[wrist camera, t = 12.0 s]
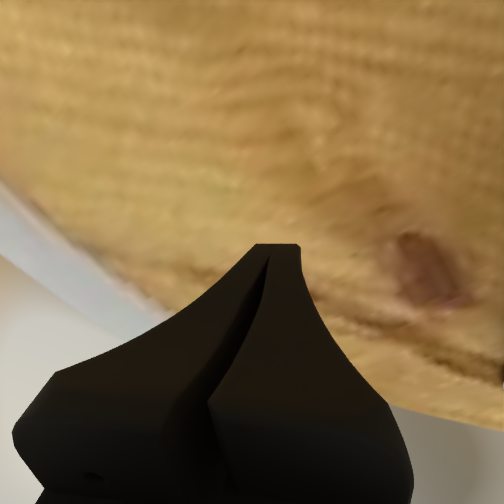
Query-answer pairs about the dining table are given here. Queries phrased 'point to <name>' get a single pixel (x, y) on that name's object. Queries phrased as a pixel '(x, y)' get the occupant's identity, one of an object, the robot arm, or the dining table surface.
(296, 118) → the dining table surface
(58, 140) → the dining table surface
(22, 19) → the dining table surface
